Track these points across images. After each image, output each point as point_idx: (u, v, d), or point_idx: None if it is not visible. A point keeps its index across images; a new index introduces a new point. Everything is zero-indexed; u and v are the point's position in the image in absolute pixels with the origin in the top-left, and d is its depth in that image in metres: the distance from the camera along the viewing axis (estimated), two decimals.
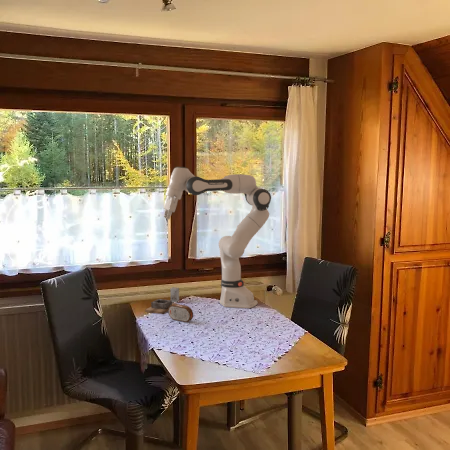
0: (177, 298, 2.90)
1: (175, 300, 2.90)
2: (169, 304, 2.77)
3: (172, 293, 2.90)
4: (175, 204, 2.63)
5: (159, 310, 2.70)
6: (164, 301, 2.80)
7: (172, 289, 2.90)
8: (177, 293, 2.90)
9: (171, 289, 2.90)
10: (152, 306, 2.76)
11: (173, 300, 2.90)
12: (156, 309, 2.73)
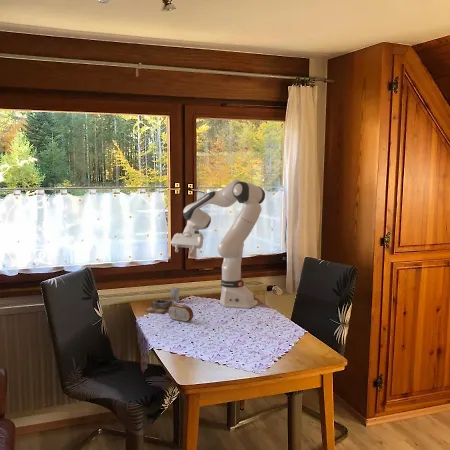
0: (177, 298, 2.90)
1: (175, 300, 2.90)
2: (169, 304, 2.77)
3: (172, 293, 2.90)
4: None
5: (159, 310, 2.70)
6: (164, 301, 2.80)
7: (172, 289, 2.90)
8: (177, 293, 2.90)
9: (171, 289, 2.90)
10: (152, 306, 2.76)
11: (173, 300, 2.90)
12: (156, 309, 2.73)
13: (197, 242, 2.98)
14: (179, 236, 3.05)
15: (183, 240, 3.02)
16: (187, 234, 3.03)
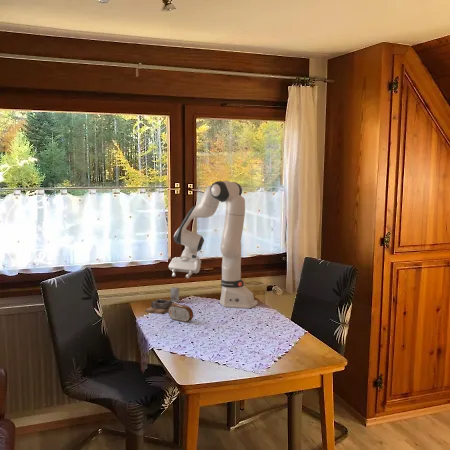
0: (177, 298, 2.90)
1: (175, 300, 2.90)
2: (169, 304, 2.77)
3: (172, 293, 2.90)
4: None
5: (159, 310, 2.70)
6: (164, 301, 2.80)
7: (172, 289, 2.90)
8: (177, 293, 2.90)
9: (171, 289, 2.90)
10: (152, 306, 2.76)
11: (173, 300, 2.90)
12: (156, 309, 2.73)
13: (194, 267, 2.96)
14: (176, 260, 3.03)
15: (180, 264, 3.00)
16: (184, 258, 3.01)
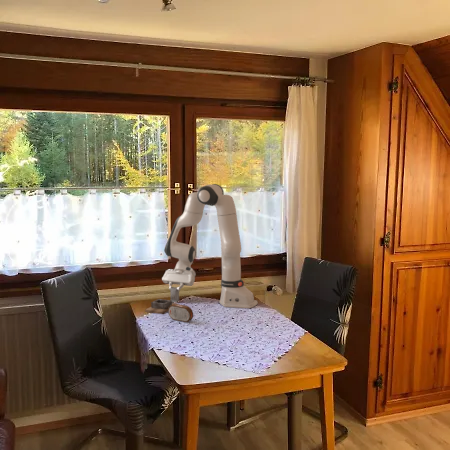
0: (177, 298, 2.90)
1: (175, 300, 2.90)
2: (169, 304, 2.77)
3: (172, 293, 2.90)
4: None
5: (159, 310, 2.70)
6: (164, 301, 2.80)
7: (172, 289, 2.90)
8: (177, 293, 2.90)
9: (171, 289, 2.90)
10: (152, 306, 2.76)
11: (173, 300, 2.90)
12: (156, 309, 2.73)
13: (188, 279, 2.90)
14: (170, 273, 2.97)
15: (174, 277, 2.94)
16: (178, 271, 2.94)
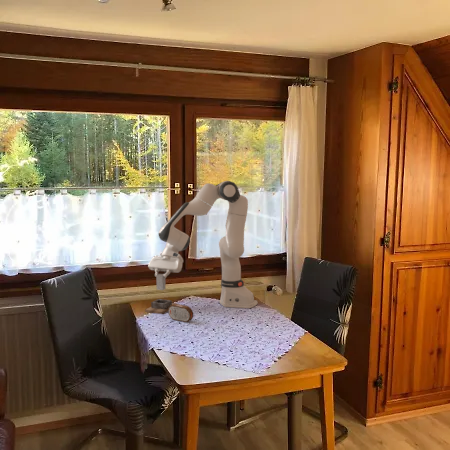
0: (163, 285, 2.76)
1: (161, 287, 2.75)
2: (169, 304, 2.77)
3: (158, 280, 2.75)
4: None
5: (159, 310, 2.70)
6: (164, 301, 2.80)
7: (158, 276, 2.75)
8: (163, 280, 2.75)
9: (157, 276, 2.75)
10: (152, 306, 2.76)
11: (159, 287, 2.76)
12: (156, 309, 2.73)
13: (175, 265, 2.75)
14: (157, 259, 2.82)
15: (161, 263, 2.79)
16: (165, 257, 2.80)
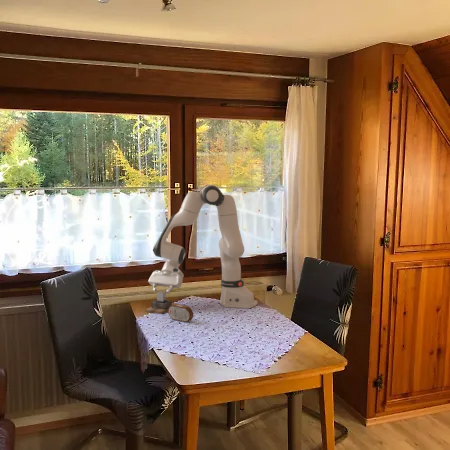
0: None
1: None
2: (169, 304, 2.77)
3: (159, 297, 2.76)
4: None
5: (159, 310, 2.70)
6: None
7: (159, 293, 2.76)
8: (164, 297, 2.76)
9: (158, 293, 2.76)
10: (152, 306, 2.76)
11: None
12: (156, 309, 2.73)
13: (175, 281, 2.76)
14: (157, 274, 2.83)
15: (161, 278, 2.80)
16: (165, 272, 2.80)
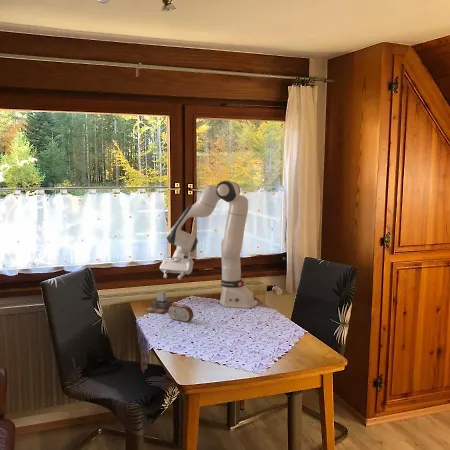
0: None
1: None
2: (169, 304, 2.77)
3: (159, 297, 2.76)
4: None
5: (159, 310, 2.70)
6: None
7: (159, 293, 2.76)
8: (164, 297, 2.76)
9: (158, 293, 2.76)
10: (152, 306, 2.76)
11: None
12: (156, 309, 2.73)
13: (186, 267, 2.86)
14: (168, 261, 2.94)
15: (172, 265, 2.91)
16: (176, 259, 2.91)
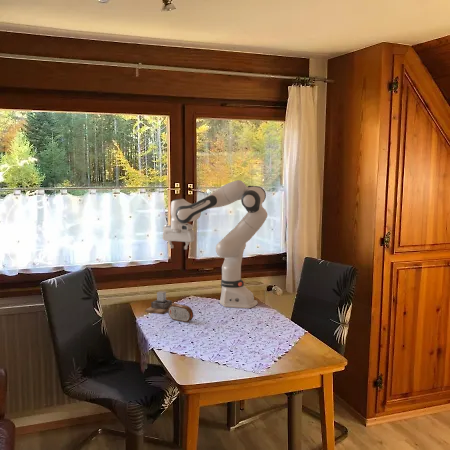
0: None
1: None
2: (169, 304, 2.77)
3: (159, 297, 2.76)
4: None
5: (159, 310, 2.70)
6: None
7: (159, 293, 2.76)
8: (164, 297, 2.76)
9: (158, 293, 2.76)
10: (152, 306, 2.76)
11: None
12: (156, 309, 2.73)
13: (188, 238, 2.88)
14: (168, 231, 2.93)
15: (174, 236, 2.91)
16: (175, 230, 2.89)
